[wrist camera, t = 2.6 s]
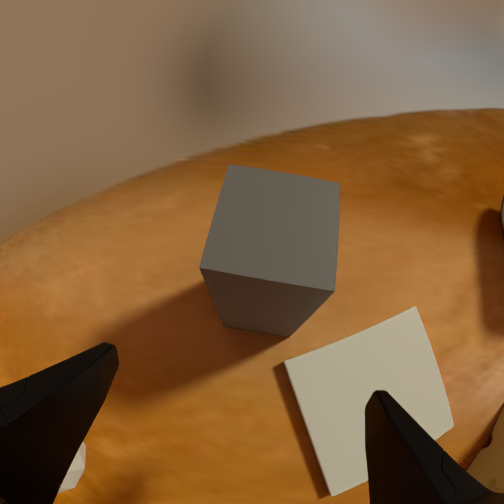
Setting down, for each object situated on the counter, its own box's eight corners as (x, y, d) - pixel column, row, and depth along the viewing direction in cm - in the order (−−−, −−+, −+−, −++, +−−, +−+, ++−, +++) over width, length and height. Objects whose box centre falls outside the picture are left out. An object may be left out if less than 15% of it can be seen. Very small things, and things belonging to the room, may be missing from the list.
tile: (329, 493, 16) (331, 496, 15) (282, 361, 20) (284, 361, 20) (449, 425, 17) (454, 425, 17) (411, 308, 22) (415, 305, 21)
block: (289, 337, 21) (334, 291, 10) (223, 325, 22) (199, 267, 11) (297, 276, 23) (339, 183, 12) (236, 265, 24) (229, 164, 13)
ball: (65, 420, 19) (11, 366, 16) (121, 455, 17) (56, 402, 13) (30, 474, 13) (-34, 427, 10) (83, 523, 11) (1, 485, 7)
